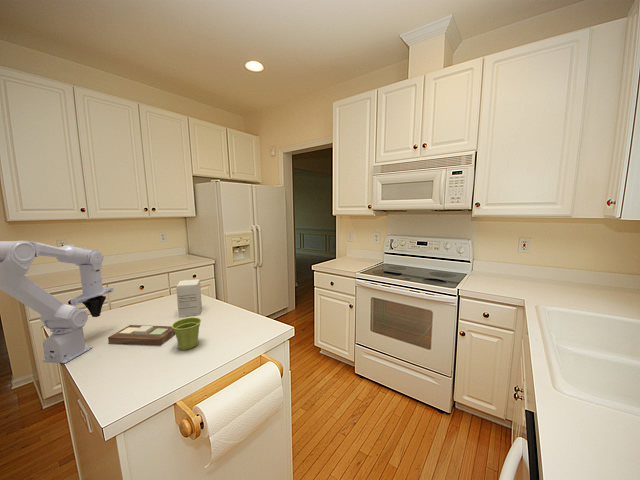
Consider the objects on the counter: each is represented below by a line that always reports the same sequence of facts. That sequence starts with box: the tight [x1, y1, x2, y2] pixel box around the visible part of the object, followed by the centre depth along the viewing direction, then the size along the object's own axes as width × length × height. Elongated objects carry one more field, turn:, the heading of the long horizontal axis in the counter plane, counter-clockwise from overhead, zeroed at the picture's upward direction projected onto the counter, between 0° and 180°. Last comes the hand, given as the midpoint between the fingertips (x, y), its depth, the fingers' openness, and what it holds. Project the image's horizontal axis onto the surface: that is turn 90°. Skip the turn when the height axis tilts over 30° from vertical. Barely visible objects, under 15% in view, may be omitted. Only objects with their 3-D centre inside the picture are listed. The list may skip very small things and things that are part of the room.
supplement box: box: [175, 278, 203, 318], centre depth 121 cm, size 9×9×15 cm
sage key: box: [149, 328, 168, 336], centre depth 98 cm, size 4×4×2 cm
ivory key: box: [134, 325, 154, 335], centre depth 98 cm, size 4×4×2 cm
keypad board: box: [107, 324, 176, 347], centre depth 98 cm, size 10×20×2 cm, turn 85°
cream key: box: [119, 327, 138, 335], centre depth 99 cm, size 4×4×2 cm
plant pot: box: [171, 316, 202, 351], centre depth 92 cm, size 9×9×9 cm
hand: (96, 316), depth 98 cm, fingers closed
